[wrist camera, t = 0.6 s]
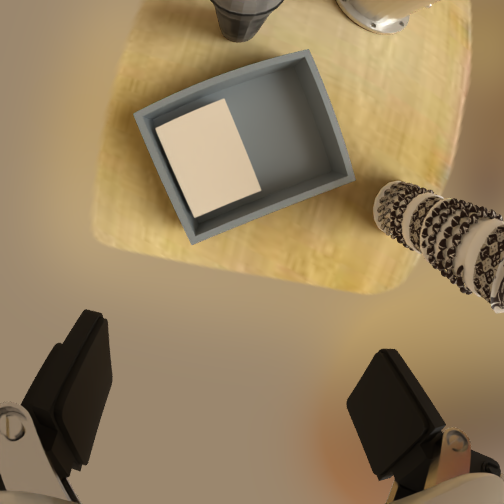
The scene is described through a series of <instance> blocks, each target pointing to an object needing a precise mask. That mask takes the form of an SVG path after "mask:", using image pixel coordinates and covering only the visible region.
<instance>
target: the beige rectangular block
mask: <svg viewBox="0 0 504 504" xmlns="http://www.w3.org/2000/svg"><path fill="white" fill-rule="evenodd" d="M155 129H156V132H157V134H158V137H159V139H160V141H161V144H162V146H163V148H164V151H165V153H166V155H167V158H168V160H169V162H170V164H171V167H172V169H173V171H174V174H175V176H176V178H177V180H178V183H179V185H180V187H181V189H182V192H183V194H184V196H185V198H186V200H187V203H188V205H189V207H190V209H191V211H192V214H193V216H194V218H196V217H198V216H201V215H203V214H205V213H208V212H210V211H212V210H215V209H217V208H219V207H222V206H224V205H227V204H229V203H232V202H234V201H236V200H239V199H241V198H244V197H246V196H249V195H251V194H254V193H256V192H259V191H261V188H260V185H259V183H258V180H257V178H256V175H255V172H254V170H253V167H252V165H251V162H250V160H249V157H248V155H247V152H246V150H245V147H244V145H243V142H242V140H241V138H240V135H239V133H238V130H237V128H236V125H235V123H234V120H233V118H232V116H231V113H230V111H229V108H228V106H227V104H226V101H225V99H221V100H219V101H216V102H214V103H211V104H209V105H206V106H204V107H201V108H199V109H197V110H194V111H192V112H190V113H187V114H185V115H183V116H180V117H178V118H176V119H174V120H172V121H170V122H167V123H165V124H163V125H161V126H159V127H157V128H155Z"/></svg>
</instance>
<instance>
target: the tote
mask: <svg viewBox="0 0 504 504" xmlns="http://www.w3.org/2000/svg"><path fill="white" fill-rule="evenodd" d="M221 99H225V101H226V104H227V106H228V108H229V111H230V113H231V116H232V118H233V120H234V123H235V125H236V128H237V130H238V133H239V135H240V138H241V140H242V142H243V145H244V147H245V150H246V152H247V155H248V157H249V160H250V162H251V165H252V167H253V170H254V172H255V175H256V178H257V180H258V183H259V185H260V188H261V191H259V192H256V193H254V194H251V195H249V196H246V197H244V198H241V199H239V200H236V201H234V202H232V203H229V204H227V205H224V206H222V207H219V208H217V209H215V210H212V211H210V212H208V213H205V214H203V215H201V216H198V217H196V218H194V216H193V214H192V211H191V209H190V207H189V205H188V203H187V200H186V198H185V196H184V194H183V192H182V189H181V187H180V185H179V183H178V180H177V178H176V176H175V174H174V171H173V169H172V167H171V164H170V162H169V160H168V158H167V155H166V153H165V151H164V148H163V146H162V144H161V141H160V139H159V137H158V134H157V132H156V129H155V128H157V127H159V126H161V125H163V124H165V123H167V122H170V121H172V120H174V119H176V118H178V117H180V116H183V115H185V114H187V113H190V112H192V111H194V110H197V109H199V108H201V107H204V106H206V105H209V104H211V103H214V102H216V101H219V100H221ZM133 115H134V118H135V120H136V123H137V125H138V127H139V130H140V132H141V135H142V137H143V139H144V142H145V144H146V146H147V149H148V151H149V153H150V156H151V158H152V160H153V163H154V165H155V167H156V169H157V172H158V174H159V176H160V178H161V181H162V183H163V185H164V187H165V189H166V192H167V194H168V196H169V198H170V200H171V203H172V205H173V207H174V209H175V211H176V213H177V215H178V218H179V220H180V222H181V224H182V226H183V228H184V230H185V232H186V234H187V236H188V238H189V240H190V243H191V245H194V244H196V243H198V242H201V241H203V240H206V239H208V238H210V237H213V236H215V235H218V234H220V233H222V232H225V231H227V230H230V229H232V228H235V227H237V226H240V225H242V224H245V223H247V222H249V221H252V220H254V219H257V218H259V217H262V216H264V215H267V214H269V213H272V212H275V211H277V210H280V209H282V208H285V207H287V206H290V205H292V204H295V203H298V202H300V201H303V200H305V199H308V198H310V197H313V196H316V195H318V194H321V193H324V192H326V191H329V190H332V189H334V188H337V187H340V186H342V185H345V184H348V183H350V182H353V181H356V179H355V175H354V172H353V168H352V165H351V161H350V158H349V155H348V152H347V148H346V145H345V142H344V139H343V136H342V133H341V130H340V127H339V124H338V121H337V118H336V116H335V113H334V110H333V107H332V104H331V102H330V99H329V96H328V94H327V91H326V89H325V86H324V84H323V81H322V79H321V76H320V74H319V71H318V69H317V67H316V64H315V62H314V60H313V57H312V55H311V53H310V50H309V49H307V50H303V51H298V52H294V53H290V54H286V55H282V56H278V57H275V58H271V59H268V60H264V61H261V62H257V63H254V64H251V65H248V66H245V67H242V68H238V69H236V70H233V71H230V72H227V73H224V74H221V75H219V76H216V77H213V78H211V79H208V80H205V81H203V82H200V83H198V84H195V85H193V86H191V87H188V88H186V89H184V90H181V91H179V92H177V93H174V94H172V95H170V96H168V97H166V98H164V99H161V100H159V101H157V102H155V103H153V104H151V105H149V106H147V107H145V108H143V109H141V110H139V111H137V112H135V113H134V114H133Z"/></svg>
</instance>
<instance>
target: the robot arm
mask: <svg viewBox="0 0 504 504" xmlns="http://www.w3.org/2000/svg"><path fill="white" fill-rule="evenodd" d="M336 1H337V3H338V5H339V6H340V8H341V9H342V11H343V12H344V13H345V14H346V15H347V16H348V17H349V18H350V19H351V20H353V21H354V22H355V23H357V24H358V25H360V26H361V27H363V28H365V29H367V30H369V31H371V32H374V33H378V34H383V35H390V34H395V33H397V32H400V31H401V30H403V29H404V28H405V27H406V26H407V24H408V22H409V16H410V14H412V13H414V12H416V11H418V10H420V9H423V8H430V7H431V4H433V3H436V2H438V1H440V0H336ZM111 385H112V368H111V359H110V348H109V334H108V321H107V319H104V318H103V315H102V313H99V312H95V311H90V310H87V309H86V310H84V311H83V312H82V314H81V315H80V317H79V318H78V320H77V322H76V323H75V325H74V326H73V328H72V329H71V331H70V333H69V334H68V336H67V337H66V339H65V341H64V342H63V344H61V343H57V344H56V345H55V346H54V347H53V349H52V350H51V352H50V354H49V355H48V357H47V359H46V360H45V362H44V364H43V365H42V367H41V369H40V370H39V372H38V374H37V376H36V377H35V379H34V381H33V383H32V385H31V386H30V388H29V390H28V392H27V394H26V396H25V398H24V399H23V401H22V403H21V405H19V404H17V403H13V402H3V403H0V504H82V503H81V501H80V499H79V498H78V496H77V494H76V493H75V491H74V489H73V487H72V485H71V484H70V482H69V480H68V478H67V477H69V476H70V472H71V469H75V470H78V471H81V467H82V464H83V465H87V464H88V461H89V458H90V454H91V450H92V446H93V443H94V440H95V436H96V432H97V429H98V426H99V422H100V419H101V416H102V412H103V410H104V406H105V403H106V400H107V397H108V394H109V391H110V388H111ZM347 409H348V411H349V414H350V416H351V419H352V421H353V424H354V426H355V428H356V431H357V433H358V436H359V438H360V440H361V443H362V445H363V448H364V451H365V453H366V455H367V458H368V461H369V463H370V466H371V468H372V471H373V473H374V474H375V475H377V477H378V479H379V481H380V480H384V479H388V478H390V477H391V476H393V475H394V477H395V480H394V482H393V485H392V488H391V491H390V494H389V496H388V499H387V501H386V504H504V474H503V473H502V474H501V470H500V466H499V464H498V463H497V462H496V461H495V460H493V459H492V458H489V457H487V456H485V455H482V454H480V453H478V452H475V451H473V450H471V442H470V439H469V437H468V436H467V435H466V433H465V432H464V431H462V430H461V429H459V428H455V427H450V428H448V429H446V430H445V431H444V432H443V433H442V432H441V430H442V429H443V428H444V427H445V425H446V424H445V422H444V421H443V419H442V417H441V416H440V414H439V413H438V411H437V410H436V408H435V406H434V405H433V403H432V402H431V400H430V399H429V397H428V396H427V394H426V393H425V391H424V390H423V388H422V387H421V385H420V384H419V382H418V380H417V379H416V378H415V376H414V375H413V373H412V372H411V370H410V369H409V367H408V366H407V364H406V363H405V361H404V360H403V359H402V357H401V356H400V354H399V353H398V351H396V350H395V349H381V350H379V352H378V353H376V354H375V355H374V357H373V359H372V361H371V362H370V364H369V366H368V367H367V369H366V371H365V372H364V374H363V376H362V377H361V379H360V381H359V382H358V384H357V386H356V387H355V388H354V390H353V392H352V393H351V395H350V396H349V398H348V399H347Z"/></svg>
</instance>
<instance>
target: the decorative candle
mask: <svg viewBox="0 0 504 504" xmlns="http://www.w3.org/2000/svg"><path fill="white" fill-rule="evenodd" d="M373 216H374V221H375V223H376V224H377V226H378V228H379V229H380V230H381V231H383V232H384V233H385V234H386V235H391V238H392V239H395V238H397V241H398V243H403V246H404V247H406V248H408V247H409V249H410V250H412V251H414V250H415V251H416V252H418V253H421V254H423V257H424V259H425V260H426V261H428V262H429V263H430V264H431V265H432V266H433V268H435V269H439V271H441V275H442V276H444V277H447V278H448V279H450V281H451V283H452V284H457V286H458V287H459V288H460V291H461V292H462V293H466V294H468V295H469V294H471V293H472V292H473V293H474V294H476V295H477V296H478V297H483V298H484V299H485V300H487V301H488V302H489V303H490V304H491V308H492V309H493V310H494V311H495V313H503V312H504V222H503V218H502V216H501V215H500V214H496V212H495V211H494V210H489V211H487V209H486V208H485V207H483V206H482V207H480V208H479V207H478V206H477V205H473V204H472V203H466V202H465V201H464V200H460V201H458V200H457V199H455V198H453V199H452V198H446V199H444V198H443V197H441V196H438V195H437V194H434V192H433V191H432V190H426V189H425V188H420V187H419V186H418V185H413V184H411V183H405V182H402V181H398V180H397V181H393V182H389V183H388V184H386V185H385V186H384V187H382V188H381V189H380V191H379V193H378V194H377V196H376V197H375V201H374V206H373ZM487 217H488V218H487ZM445 269H446V270H447V272H446V271H445ZM454 277H456V278H454ZM464 283H465V285H466V286H467V287H466V288H465V287H464Z"/></svg>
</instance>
